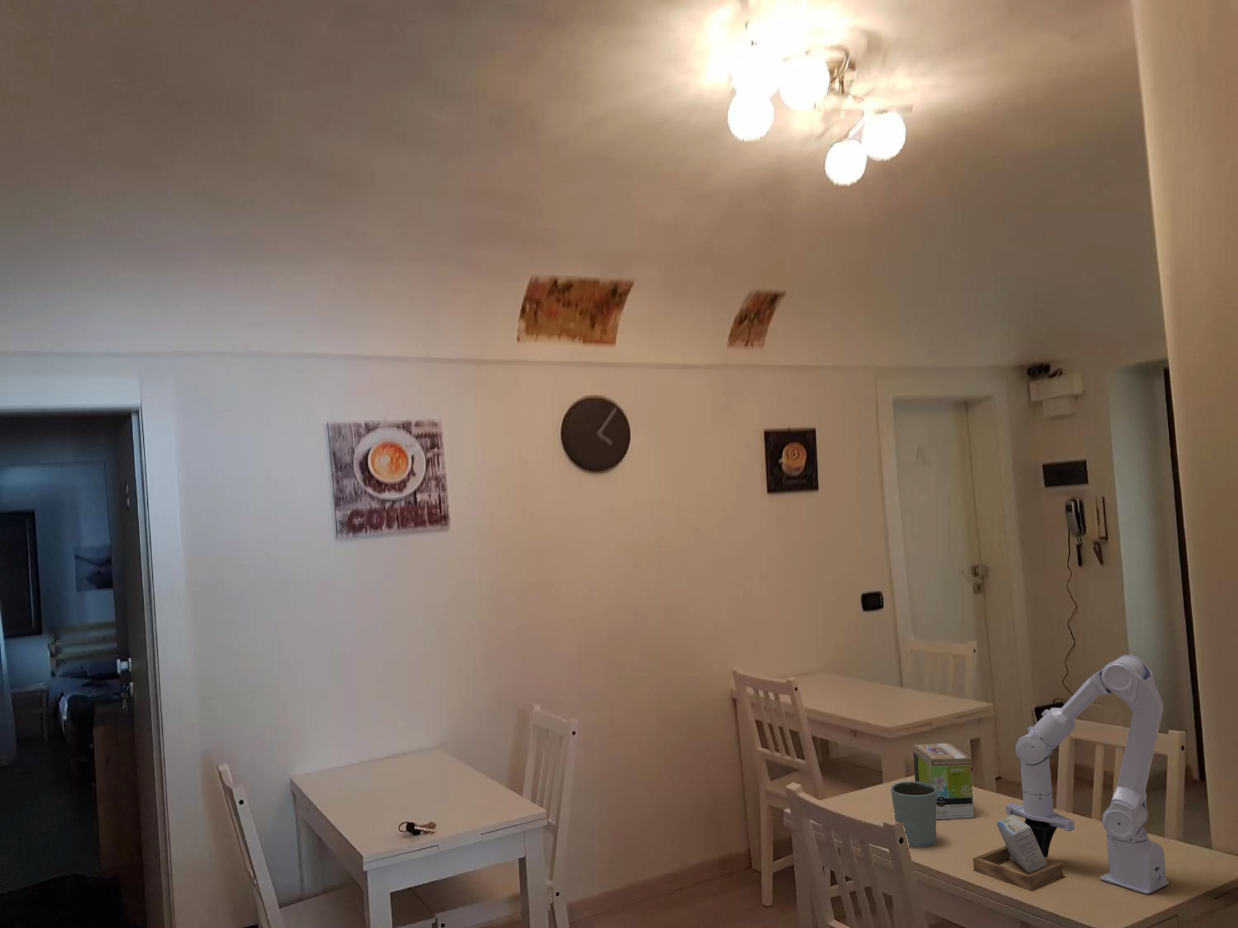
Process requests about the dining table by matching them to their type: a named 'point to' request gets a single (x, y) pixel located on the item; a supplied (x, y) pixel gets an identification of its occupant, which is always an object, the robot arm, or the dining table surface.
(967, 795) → the tea box
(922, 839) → the teal cup
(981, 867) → the holder
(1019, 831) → the medicine box
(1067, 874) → the dining table surface
